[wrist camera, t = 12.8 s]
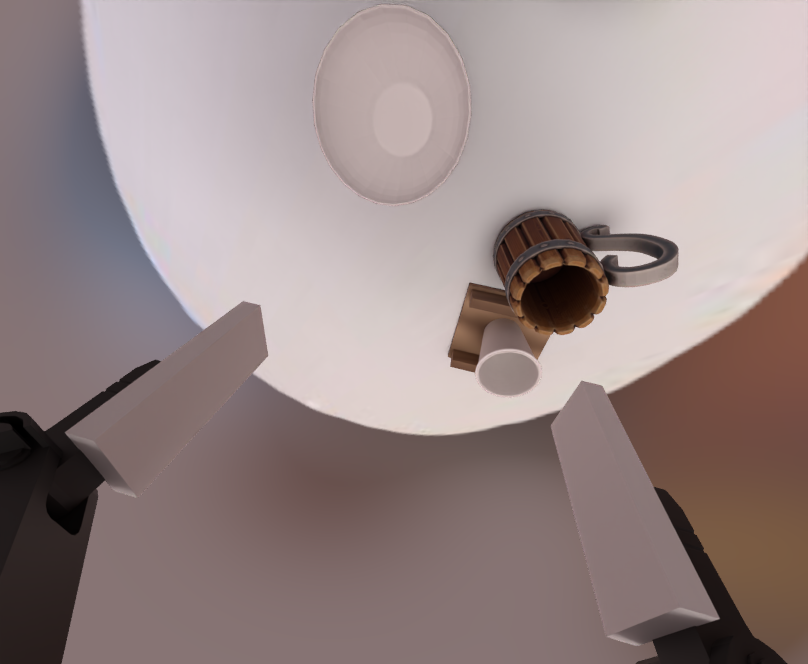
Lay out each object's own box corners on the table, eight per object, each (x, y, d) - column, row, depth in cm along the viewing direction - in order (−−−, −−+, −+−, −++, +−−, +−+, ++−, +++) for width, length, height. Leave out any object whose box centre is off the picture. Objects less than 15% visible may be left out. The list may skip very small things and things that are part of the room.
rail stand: (469, 282, 44) (469, 294, 41) (564, 303, 43) (571, 316, 40) (448, 354, 52) (446, 368, 49) (527, 373, 51) (531, 388, 48)
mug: (503, 294, 44) (514, 355, 32) (483, 226, 40) (488, 268, 28) (625, 259, 39) (696, 318, 26) (619, 175, 34) (702, 200, 22)
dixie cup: (499, 300, 44) (504, 338, 36) (542, 329, 46) (557, 373, 37) (464, 336, 49) (462, 377, 41) (504, 362, 50) (510, 407, 42)
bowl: (321, 155, 39) (295, 159, 33) (367, -11, 30) (342, -44, 24) (427, 218, 41) (420, 232, 35) (502, 80, 31) (508, 69, 26)
